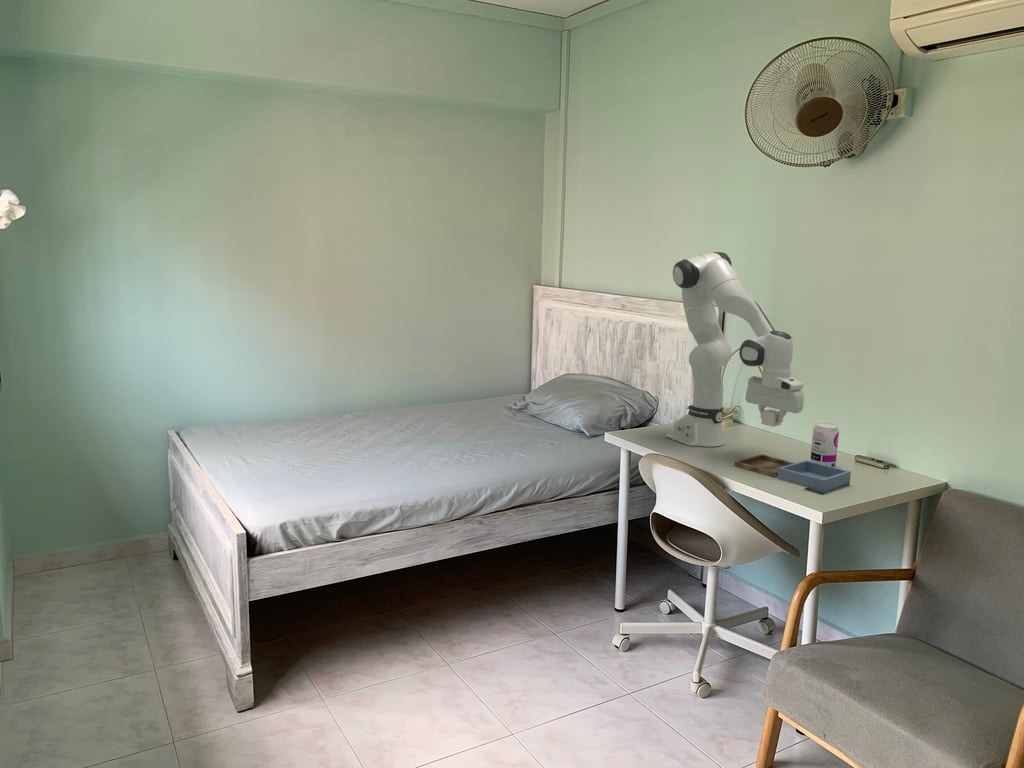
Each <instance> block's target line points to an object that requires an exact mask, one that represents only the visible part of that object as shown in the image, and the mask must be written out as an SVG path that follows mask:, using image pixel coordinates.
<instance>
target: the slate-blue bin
mask: <svg viewBox="0 0 1024 768" xmlns="http://www.w3.org/2000/svg"><path fill="white" fill-rule="evenodd" d="M793 463H794V464H791V465H787V466H784V467H780V468H778V477H776V478H777V479H778V480H781V481H785V482H789V483H793V484H794V485H798V486H803V487H805V488H803V489H804V490H806V491H810V492H812V491H813V493H817V494H820V495H824V493H825V494H827V492H828V493H831V492H834V491H836V489H837V490H840V489H842V488H841V487H843V488H845V486H846V487H848V486H850V484H851V476H852V475H851V474H852V471H849V470H846V469H842V468H838V467H831V466H827V465H823V464H819V463H815V462H812V461H810V460H807V459H804V460H801V461H798V462H793ZM847 485H848V486H847ZM839 488H840V489H839ZM833 490H834V491H833Z"/></svg>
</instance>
